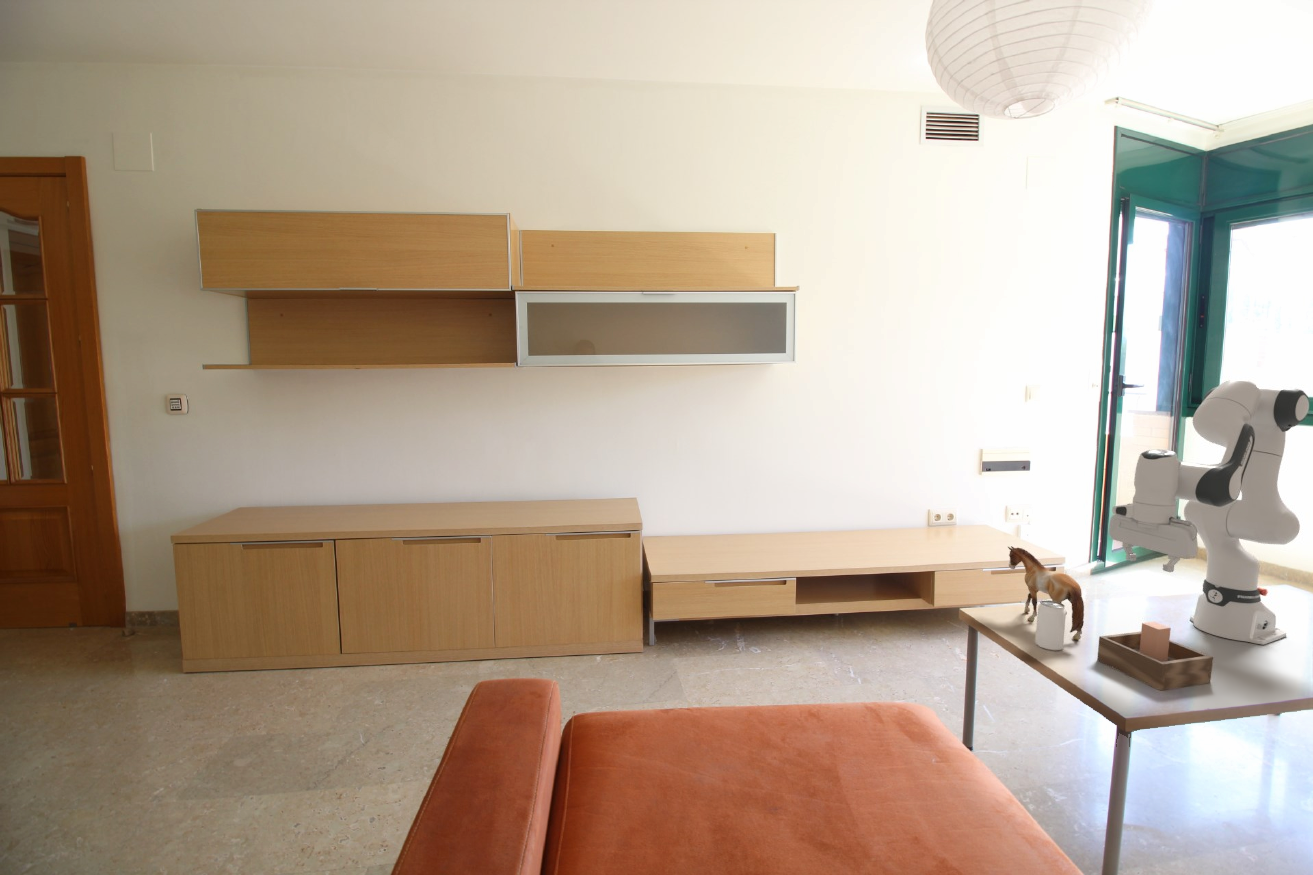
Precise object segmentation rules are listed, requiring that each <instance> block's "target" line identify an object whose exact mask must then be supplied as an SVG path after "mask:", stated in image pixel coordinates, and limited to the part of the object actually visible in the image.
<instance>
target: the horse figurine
mask: <svg viewBox="0 0 1313 875" xmlns="http://www.w3.org/2000/svg"><path fill="white" fill-rule="evenodd" d="M1007 548H1008V549H1009V554H1008V556H1009V563H1008V567H1009V568H1010V569H1012V570H1014V569H1016V567H1017V565H1019V564H1020V563H1022V564H1023V566H1024V569H1025V574H1024V583H1025V584H1026V586H1027V588H1028V591H1029V593H1028V594H1027V599H1026V601H1025V603H1024V604H1025V607H1024V613H1030V611H1031V608H1030V607H1029V606H1030V604H1032V607H1033V608H1032V609H1033V611H1032V614H1031V615H1030V616H1028V618H1027V620H1028V621H1029V622H1034V620H1035V618H1036V617H1037V614H1038V607H1037V605H1038V596H1037V593H1038V592H1042V593H1044V594H1046V595H1048V596H1049V598H1050V600H1051V601H1056V602H1059V603H1062V602H1064V601H1066V600H1068V602H1069V603H1070V604H1071V612H1072V613H1071V629H1070V630H1069V633H1073V632H1074V631H1075V632H1076V633H1074V635H1073V636H1072V639H1074V640H1081V638H1082V636H1081V635H1082V634H1083V631H1082V629H1083V626H1084V619H1085V618H1084V617H1085V612H1084V611H1085V605H1084V600H1083V597H1082V594H1083V593H1082V588H1081V585H1080V584H1079V583H1078V582H1077V581H1076V580H1075V579H1074V578H1073V577H1072V576H1070V575H1069V574H1066V573H1062V572H1061V573H1060V572H1054V571H1051V570H1049V569H1048V568H1047V567H1045V566H1044V565H1043V564H1042V563H1041V562H1040V561H1039V560H1038V558H1036V557H1035V556H1034V555H1033V554H1032V553H1030V552H1029V551H1028V550H1026V549H1024V548H1022V547H1021V548H1020V547H1014V546H1007ZM1066 615H1067V611H1066Z"/></svg>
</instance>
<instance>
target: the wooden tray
mask: <svg viewBox="0 0 1313 875" xmlns="http://www.w3.org/2000/svg"><path fill="white" fill-rule="evenodd" d="M1140 640H1141V631H1134V632H1125V633H1117V634H1116V633H1115V634H1108V635H1101V636H1099V637H1098V648H1097V649H1098V650H1097V660H1096V661H1098V662H1099V663H1101V662H1102V664H1104V665H1106V666H1108V667H1109V668H1112V669H1114V670H1116V671H1118V672H1121V673H1123V674H1124V673H1125V674H1124V675H1127V676H1128V677H1131V678H1133V679H1135V680H1137V681H1139V682H1142V683H1144V684H1145V685H1148V686H1150V687H1152V688H1154V689H1156V690H1157V691H1167V690H1171V689H1172V690H1174V689H1181V688H1186V687H1193V686H1199V685H1205V684H1211V678H1212V670H1213V664H1214V663H1213V661H1214V657H1213V656H1211V655H1208V654H1206V653H1203V652H1202V651H1199V650H1195V649H1194V648H1191V647H1188V646H1185V645H1183V644H1181V643H1179V642H1176V641H1173V640H1171V639H1170V640H1169V649H1168V659H1167V661H1165V662H1161V661H1158V660H1156V659H1154V658H1152V657H1149V656H1147V655H1145V654H1142V653H1140V652H1139V650H1140Z"/></svg>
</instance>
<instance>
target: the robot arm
mask: <svg viewBox="0 0 1313 875" xmlns="http://www.w3.org/2000/svg"><path fill="white" fill-rule="evenodd" d="M1309 409H1310V400H1309V397H1308V394H1306V392H1305V391H1304V390H1302V389H1298V388H1293V387H1287V386H1286V387H1280V386H1271V385H1257V384H1255V383H1253V382H1252V381H1249V380H1246V379H1242V378H1233V379H1228V380H1225V381H1224V382H1221V383H1220V384H1219V385H1218V386H1215V387H1213V388H1211V389H1210V390H1209V391H1207V392H1206V393H1205V395H1204V397H1203V400H1202V402H1201V404H1200V405H1199V406H1198V407H1197V409H1196V410H1195V412H1194V414H1193V416H1192V425H1193V428H1194V429H1195V432H1197V434H1198V435H1200V437H1202V438H1203V439H1204V440H1206V441H1208V442H1210V443H1212V444H1216V445H1218V446H1221V447H1224V448H1225V451H1224V453H1223V456H1222V459H1221V461H1220V462H1219V463H1214V464H1204V463H1194V462H1186V461H1182V460H1180V459H1179V458H1178V454H1177V452H1175V451H1173V450H1169V449H1168V450H1167V449H1149V450H1145V451H1143V452H1141V453H1140V454H1139V456H1138V459H1137V462H1136V467H1135V470H1134V471H1135V472H1134V480H1133V481H1134V482H1133V483H1134V489H1135V490H1134V495H1133V497H1132V503H1127V504H1121V505H1120V504H1119V505H1114V506H1112V509H1111V511H1112V515H1111V517H1110V520H1109V526H1108V536H1109V537H1110V539H1111V540H1114V541H1117V542H1121V543H1122V545H1121V546H1122V548H1123V550H1124V552H1125V559H1126V560H1127V561H1131V562H1134V561H1137V556H1138V554H1137V553H1135V552H1134V551H1133V548H1132V547H1134V546H1135V547H1139V548H1143V549H1147V550H1150V551H1154V552H1157V553H1161V554H1165V555H1167V559H1168V562H1167V563H1163V564H1162V570H1163V571H1164V572H1168V573H1172V572H1174V571H1175V566H1176V564H1178V562H1179V561H1180V560H1181V559H1182V560H1188V559H1189V560H1190V559H1194V558H1196V557H1197V556H1198V552H1199V549H1198V548H1199V546H1198V543H1199V542H1198V535H1199V537H1200V538H1201V541H1202V543H1203V545H1204V548H1205V551H1206V562H1207V563H1206V575H1205V576H1206V577H1205V579H1204V580H1203V583H1202V592H1203V593H1201V594H1200V595H1199V596H1198V598H1197V602H1196V607H1195V609H1194V610H1195V611H1194V615H1190V618H1189V620H1190V621H1191V622H1193V626H1194V627H1195V628H1196V629H1198V630H1200V631H1203V632H1204V633H1208V634H1210V635H1213V636H1217V637H1220V638H1223V639H1224V638H1225V639H1228V640H1229V639H1230V640H1234V641H1241V642H1249V643H1252V644H1258V645H1268V644H1269V643H1272V642H1274V641H1278V640H1280V639H1282V638H1287V637H1286V636H1287V633H1286V631H1284V630H1282V629H1280V628H1278V627H1276V624H1277V622H1276V620H1277V619H1276V614H1275V612H1273V611H1272V610H1271V609H1270V608H1268V607H1267V606H1266V605H1265V604H1264V603H1263V602H1262V599H1261V596H1262V597H1263V596H1264V597H1266V596H1267V595H1268V593H1269V592H1268V589H1267V588H1262V587H1260V586H1259V587H1258V583H1259V577H1260V576H1259V574H1260V567H1261V565H1260V563H1259V561H1258V559H1257V558H1256V557H1255V556H1254V555H1253V554H1251V553H1250V552H1249V551H1247V550H1246V549H1245V548H1244V547H1243V545H1242V544H1241V542H1240V540H1243V541H1249V542H1254V543H1257V544H1258V543H1259V544H1264V545H1265V544H1266V545H1286V544H1289V543H1291V542H1293V541H1294V540H1295V539H1296V538H1297V536H1298V535H1299V533H1300V528H1301V527H1300V526H1301V525H1300V521H1299V519H1298V517H1297V515H1296V514H1295V513H1294V512H1293V511H1292V510H1290V508H1288V507H1287V505H1286V504H1285V503H1284V501H1283V500H1282V498H1281V496H1280V493H1279V489H1278V480H1279V473H1280V468H1281V465H1282V460H1283V456H1284V452H1285V446H1286V445H1285V444H1286V437H1287V436H1286V435H1287V434H1286V432H1288V431H1289V430H1290V429H1291V428H1294V427H1297V426H1298V425H1299V424H1301V423H1302V422H1303V421H1304V420H1305V419H1306V417H1307V415H1308V412H1309ZM1240 493H1241V499H1238V498H1239V496H1240ZM1177 499H1178V500H1183V501H1187V503H1186V504H1185V506H1184V509H1183V517H1184V519H1185V520H1183V519H1180V518H1177V517H1176V514H1177V513H1176V512H1177V504H1178V503H1177Z"/></svg>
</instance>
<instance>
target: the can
mask: <svg viewBox="0 0 1313 875" xmlns="http://www.w3.org/2000/svg"><path fill="white" fill-rule="evenodd" d="M1039 602H1040V603H1039V605H1038V607H1037V616H1036V617H1037V618H1036V626H1035V627H1036V628H1035V639H1034V640H1035V641H1034V642H1035V644H1036V645H1037V647H1039V648H1042V649H1043V650H1047V651H1053V652H1057V651H1058V652H1059V651H1062V650H1063V649H1064V641H1065V627H1066V618H1067V616H1066V615H1067V614H1066V612H1067V611H1066V609H1065V604H1063V603H1062V602H1061V603H1059V602H1056V601H1052V600H1051V599H1050V600H1047V599H1045V600H1041V601H1039Z"/></svg>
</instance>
